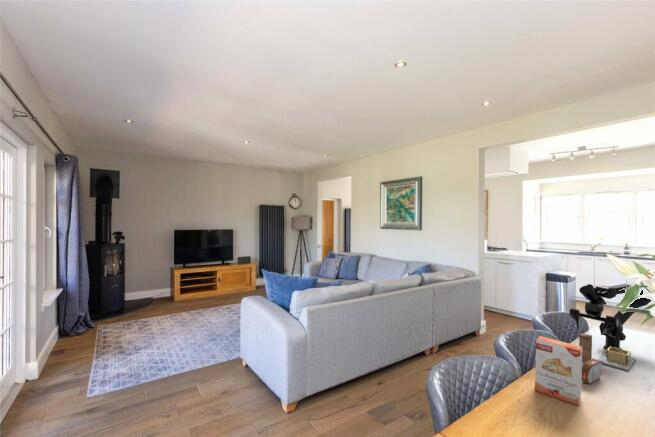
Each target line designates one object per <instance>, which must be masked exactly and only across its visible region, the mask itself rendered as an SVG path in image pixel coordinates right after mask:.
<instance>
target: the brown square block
mask: <svg viewBox="0 0 655 437" xmlns="http://www.w3.org/2000/svg"><path fill="white" fill-rule="evenodd" d="M578 338H579V339H578V341H579V342H578V346H581V347H583V348H582V362H584V363H585V362H587V361H589V360H591V359H593V358H592V355H593V354H592V350H593V347H592V346H593V335H591V334H587V333H583V332H581V333H579V336H578Z"/></svg>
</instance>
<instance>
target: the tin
mask: <svg viewBox="0 0 655 437" xmlns="http://www.w3.org/2000/svg"><path fill="white" fill-rule="evenodd" d="M602 368H603V364H602V362H600V361H598V359H595V358H591V360H589V361H587V362H584V363H582V380H581V382H584V383H586V384H589V385H590V384H593V383H594V382H595V381H598V380H599V379H600V377H601V375H602V371H603V370H602Z"/></svg>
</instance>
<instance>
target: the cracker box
mask: <svg viewBox="0 0 655 437" xmlns="http://www.w3.org/2000/svg"><path fill="white" fill-rule="evenodd" d="M535 342H536V343H535V344H536V345H535V368H534V369H535V370H534V372H535V373H534V391H536V392H539V393H542V394H544V395H546V396H550V397H553V398H555V399H558V400H561V401H563V402H566V403H569V404H572V405H575V406H577V407H579V406H580V403H581V400H582V381H581V380H582V366H583V361H582V348H583V347H581V346H579V345H576V344H573V343H568V342H564V341H561V340H556V339H553V338H550V337H546V336H545V337H544V336H541V335H540V336H538V337H537V338H536V341H535Z"/></svg>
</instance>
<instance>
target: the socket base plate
mask: <svg viewBox="0 0 655 437" xmlns="http://www.w3.org/2000/svg"><path fill="white" fill-rule="evenodd" d="M631 352H632V351H630V350H627V349H623V348H622V349H619V348H615V347H611V346H610V347H609V348H608V349H606V350H605V351H604V352H603V353H602V354H601V355H600V356H599V358H597V360H598V361H600V362H602V365H604V366H608V367H611V368H614V369H616V370H617V369H618V370H620V371H624V372H629V371H630V370H631V368H632V366H634V363H635V362H636V361H637V358H636V357H634V356H632V355H631V354H632V353H631Z"/></svg>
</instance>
